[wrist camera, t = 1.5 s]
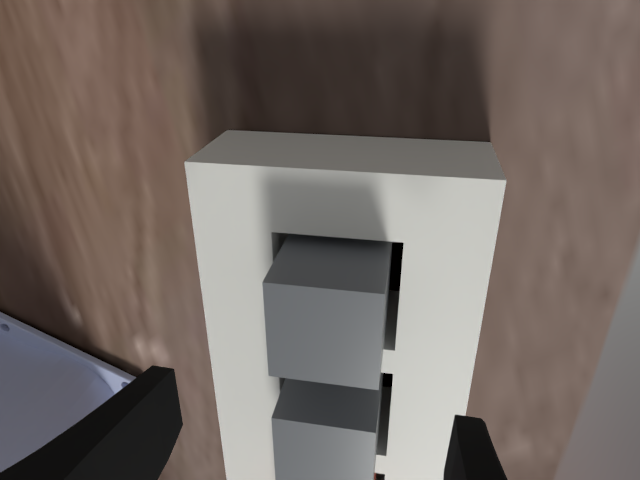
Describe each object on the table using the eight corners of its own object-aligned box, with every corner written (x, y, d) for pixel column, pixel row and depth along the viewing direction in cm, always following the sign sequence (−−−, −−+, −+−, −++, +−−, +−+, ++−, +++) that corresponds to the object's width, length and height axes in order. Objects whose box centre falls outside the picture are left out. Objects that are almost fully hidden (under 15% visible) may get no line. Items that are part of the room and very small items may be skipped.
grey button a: (387, 316, 19) (378, 390, 16) (296, 306, 20) (268, 375, 16) (393, 232, 18) (385, 294, 14) (293, 224, 18) (262, 282, 15)
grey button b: (379, 419, 22) (371, 503, 18) (299, 408, 22) (276, 487, 19) (384, 355, 20) (375, 432, 17) (297, 344, 21) (271, 418, 17)
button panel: (435, 502, 27) (436, 579, 24) (258, 473, 29) (234, 541, 25) (490, 142, 18) (506, 180, 15) (227, 130, 20) (184, 161, 16)
